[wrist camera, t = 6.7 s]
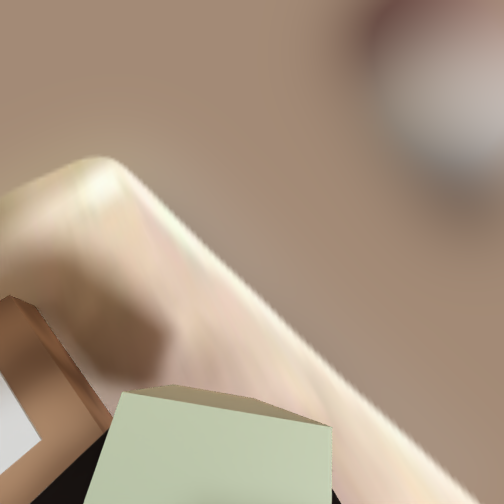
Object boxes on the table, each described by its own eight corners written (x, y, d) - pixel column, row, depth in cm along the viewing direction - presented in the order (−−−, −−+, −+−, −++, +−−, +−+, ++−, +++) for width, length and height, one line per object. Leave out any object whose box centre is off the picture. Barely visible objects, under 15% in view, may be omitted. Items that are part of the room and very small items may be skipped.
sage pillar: (253, 398, 14) (332, 427, 6) (239, 505, 12) (330, 826, 3) (174, 384, 14) (122, 391, 5) (145, 491, 12) (-24, 809, 3)
